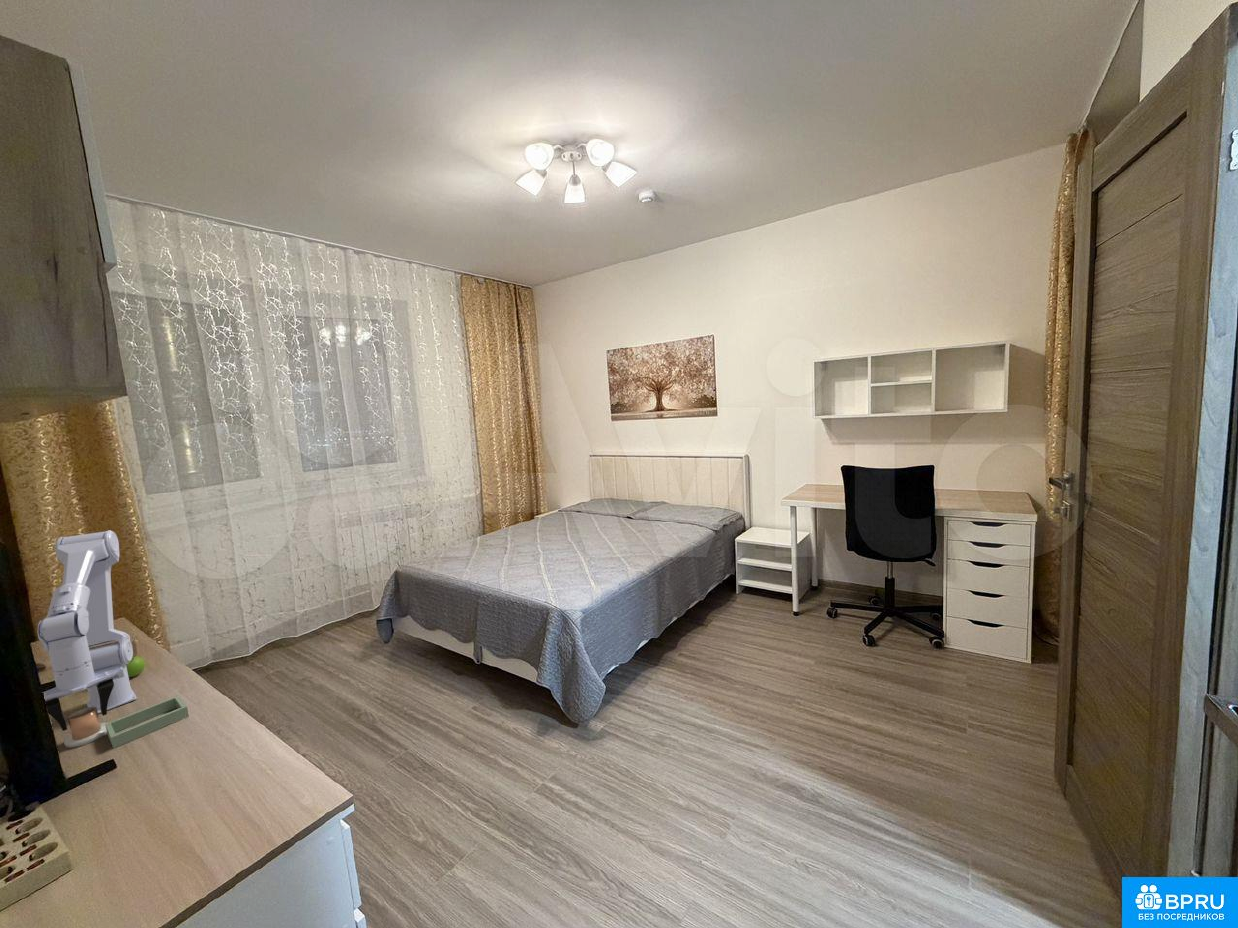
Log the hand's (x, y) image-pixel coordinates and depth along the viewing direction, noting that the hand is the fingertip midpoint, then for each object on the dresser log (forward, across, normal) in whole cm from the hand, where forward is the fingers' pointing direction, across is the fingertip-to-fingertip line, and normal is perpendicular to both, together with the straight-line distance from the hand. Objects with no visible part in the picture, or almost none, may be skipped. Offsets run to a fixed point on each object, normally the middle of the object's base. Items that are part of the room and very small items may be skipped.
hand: (84, 720), depth 108 cm
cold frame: (+4, +9, -7) cm, 12 cm away
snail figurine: (+4, +12, +29) cm, 31 cm away
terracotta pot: (+3, 0, 0) cm, 3 cm away
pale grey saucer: (+4, 0, 0) cm, 4 cm away
